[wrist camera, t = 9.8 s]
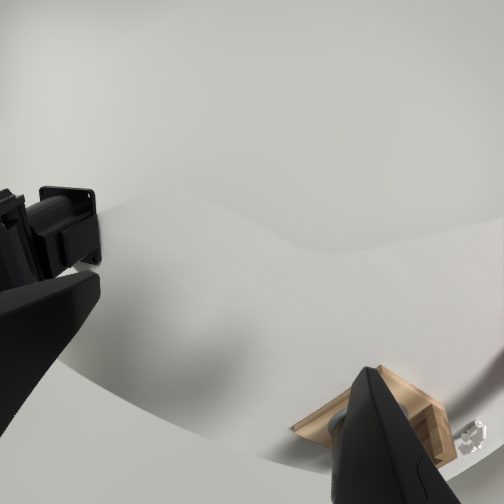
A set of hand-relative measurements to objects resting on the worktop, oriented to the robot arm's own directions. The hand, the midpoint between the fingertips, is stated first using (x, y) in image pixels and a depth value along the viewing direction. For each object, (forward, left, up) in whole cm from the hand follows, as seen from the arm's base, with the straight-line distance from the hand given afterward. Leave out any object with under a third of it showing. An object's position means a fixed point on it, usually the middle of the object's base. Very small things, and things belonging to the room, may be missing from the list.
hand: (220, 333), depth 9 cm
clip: (+28, -22, -13) cm, 38 cm away
